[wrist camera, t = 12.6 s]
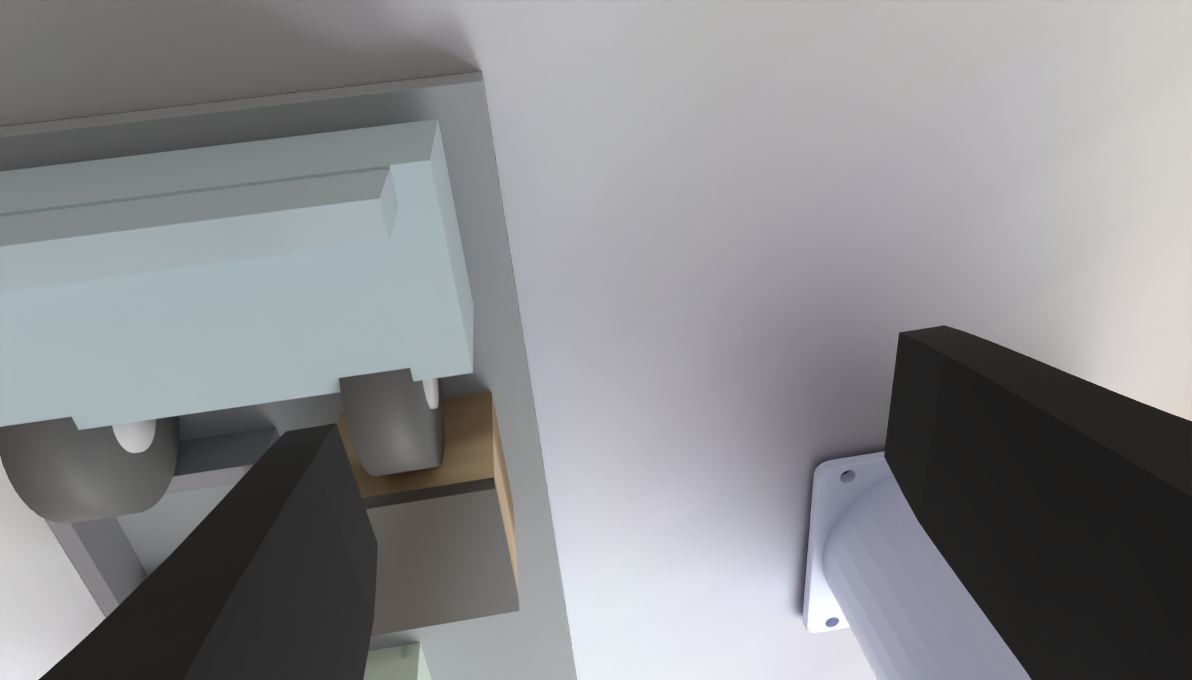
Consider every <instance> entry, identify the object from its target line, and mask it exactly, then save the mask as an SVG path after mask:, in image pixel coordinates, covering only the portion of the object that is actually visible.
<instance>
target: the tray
mask: <svg viewBox="0 0 1192 680" xmlns="http://www.w3.org/2000/svg"><path fill="white" fill-rule="evenodd" d="M363 680H432V679H431V676H430V673H429V670H428V666H427V663H426V660H425V657H424V654H423V650H422V647H421V644H420V643H415V644H409V645H403V646H397V647H391V648H385V649H379V650H374V651H368V656H367V662H366V668H365V673H364V679H363Z"/></svg>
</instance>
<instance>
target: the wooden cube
mask: <svg viewBox="0 0 1192 680" xmlns="http://www.w3.org/2000/svg"><path fill="white" fill-rule="evenodd" d="M443 404H444V419H445V448H444V456H443V461H442V464H441V465H440V466H439V467H434V468H427V469H421V470H414V471H408V472H401V473H395V474H388V475H382V476H371V475H370V474H369V473H368V472H367V471H366V470H365V469H364V467H363V466H362V464H361V462H360V460H359V458H358V456H357V453H356V451H355V448H354V445H353V442H352V440H351V436H350V433H349V429H348V425H347V421H346V417H345V414H341V415H340V417H339V421H338V424H337V426H338V429H339V432H340V435H341V438H342V441H343V444H344V447H345V450H346V453H347V456H348V458H349V461H350V464H351V467H352V470H353V473H354V476H355V479H356V482H357V485H358V488H359V491H360V493H361V496H362V499H363V502H364V505H365V508H366V511H367V514H368V517H369V520H370V523H371V526H372V528H373V531H374V534H375V537H376V540H377V543H378V551H377V576H376V595H375V610H374V622H373V628H372V634H371V636H376V635H381V634H387V633H393V632H399V631H405V630H411V629H417V628H422V627H428V626H434V625H440V624H446V623H452V622H458V621H463V620H469V619H475V618H481V617H487V616H493V615H499V614H504V613H510V612H516V611H520V609H519V592H518V575H517V558H516V541H515V524H514V507H513V500H512V495H511V490H510V484H509V479H508V474H507V469H506V463H505V458H504V453H503V448H502V442H501V437H500V432H499V427H498V422H497V416H496V411H495V406H494V401H493V395H492V392H489V393H482V394H476V395H469V396H462V397H455V398H449V399H443Z"/></svg>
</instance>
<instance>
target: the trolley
mask: <svg viewBox="0 0 1192 680" xmlns="http://www.w3.org/2000/svg"><path fill="white" fill-rule="evenodd" d="M473 320H474V305H473V300H472V295H471V289H470V284H469V279H468V274H467V268H466V263H465V258H464V253H463V247H462V242H461V237H460V232H459V226H458V221H457V216H456V211H455V205H454V200H453V195H452V190H451V184H450V179H449V174H448V169H447V163H446V158H445V153H444V148H443V142H442V137H441V132H440V127H439V121H438V119H435V120H427V121H418V122H410V123H402V124H393V125H385V126H377V127H368V128H360V129H352V130H343V131H335V132H327V133H318V134H310V135H301V136H293V137H285V138H276V139H268V140H260V141H251V142H243V143H235V144H226V145H218V146H210V147H201V148H193V149H185V150H176V151H168V152H160V153H151V154H143V155H135V156H126V157H118V158H109V159H101V160H93V161H84V162H76V163H68V164H59V165H51V166H43V167H34V168H26V169H18V170H9V171H1V172H0V456H1V459H2V463H3V466H4V468H5V471H6V473H7V476H8V478H9V480H10V482H11V484H12V485H13V487H14V489H15V491H16V492H17V493H18V495H19V496H20V498H21V499H22V500H23V501H24V502H25V504H26V505H27V506H28V507H29V508H30V509H32V510H33V511H34V512H35V513H36V514H38V515H39V516H41V517H43V518H45V519H46V520H49V521H52V522H55V523H62V524H67V523H76V522H83V521H89V520H96V519H102V518H109V517H115V516H122V515H128V514H135V513H140V512H144V511H146V510H148V509H150V508H152V507H153V506H154V505H155V504H157V503H158V502H159V500H160V499H161V498H162V497H163V495H164V494H165V492H166V491H167V489H168V487H169V485H170V482H171V480H172V477H173V474H174V471H175V467H176V463H177V458H178V451H179V433H180V430H179V415H186V414H193V413H200V412H207V411H214V410H220V409H227V408H234V407H241V406H248V405H255V404H262V403H269V402H276V401H282V400H289V399H296V398H303V397H310V396H317V395H324V394H331V393H338V392H341V396H342V402H343V407H344V412H345V417H346V421H347V425H348V429H349V433H350V436H351V440H352V442H353V445H354V448H355V451H356V453H357V456H358V458H359V460H360V462H361V464H362V466H363V467H364V469H365V470H366V471H367V472H368V473H369V474H370V475H371V476H382V475H388V474H395V473H401V472H408V471H414V470H421V469H427V468H434V467H439V466H440V465H441V464H442V461H443V456H444V448H445V419H444V404H443V394H442V385H441V377H448V376H455V375H461V374H468V373H473Z"/></svg>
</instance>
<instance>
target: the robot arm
mask: <svg viewBox="0 0 1192 680" xmlns="http://www.w3.org/2000/svg"><path fill="white" fill-rule="evenodd" d="M848 470H849V472H847V473H846V474H844V475H841V474H843V473H844V472H845V471H848ZM377 551H378V543H377V540H376V537H375V534H374V531H373V528H372V526H371V523H370V520H369V517H368V514H367V511H366V508H365V505H364V502H363V499H362V496H361V493H360V491H359V488H358V485H357V482H356V479H355V476H354V473H353V470H352V467H351V464H350V461H349V458H348V456H347V453H346V450H345V447H344V444H343V441H342V438H341V435H340V432H339V429H338V426H337V424H336V423H334V424H328V425H322V426H315V427H309V428H303V429H297V430H290V431H286V432H285V433H284V434H283V435H282V436H281V437H280V438H279V439H278V440H277V441H276V442H275V443H274V444H273V445H272V446H271V447H270V448H269V449H268V450H267V451H266V452H265V453H264V454H263V455H262V456H261V458H260V459H259V460H258V461H257V462H256V463H255V464H254V465H253V466H252V467H251V468H250V470H249V471H248V472H247V473H246V474H245V475H244V476H243V477H242V478H241V479H240V480H239V482H238V483H237V484H236V485H235V486H234V487H233V488H232V489H231V490H230V491H229V493H228V494H227V495H226V496H225V497H224V498H223V499H222V500H221V501H220V502H219V503H218V504H217V506H216V507H215V508H214V509H213V510H212V511H211V512H210V513H209V514H208V515H207V516H206V517H205V518H204V519H203V520H202V522H201V523H200V524H199V525H198V526H197V527H196V528H195V529H194V530H193V531H192V532H191V533H190V534H189V535H188V536H187V538H186V539H185V540H184V541H183V542H182V543H181V544H180V545H179V546H178V547H177V548H176V549H175V550H174V551H173V552H172V553H171V554H170V556H169V557H167V558H166V559H165V560H164V561H163V562H162V563H161V564H160V565H159V566H158V567H157V568H156V569H155V570H154V571H153V572H152V573H151V574H150V575H149V576H148V577H147V578H146V579H145V580H144V581H143V582H142V583H141V584H140V585H139V586H138V587H137V588H136V589H135V590H134V591H133V592H132V593H131V594H130V595H129V596H128V597H127V598H126V599H125V600H124V601H123V602H122V603H121V604H120V605H119V606H118V607H117V608H116V609H115V610H114V611H113V612H112V613H111V614H110V615H109V616H108V617H107V618H106V619H105V620H104V621H103V622H101V623H100V624H99V625H98V626H97V627H96V628H95V629H94V630H93V631H92V632H91V633H90V634H89V635H88V636H87V637H86V638H85V639H84V640H82V641H81V642H80V643H79V644H78V645H77V646H76V647H75V648H74V649H73V650H72V651H70V652H69V653H68V654H67V655H66V656H65V657H64V658H63V659H61V660H60V661H59V662H58V663H57V664H56V665H55V666H54V667H53V668H51V669H50V670H49V671H48V672H47V673H46V674H45V675H43V676H42V677H41V678H40V679H39V680H363V679H364V673H365V668H366V662H367V656H368V651H369V645H370V640H371V634H372V628H373V622H374V610H375V595H376V576H377ZM802 620H803V623H804V625H805V628H806V629H807V630H808V631H809V632H812V633H820V632H825V631H831V630H837V629H842V628H848V627H850V628H851V630H852V631H853V633H854V635H855V637H856V639H857V641H858V643H859V645H860V647H861V649H862V651H863V653H864V655H865V656H866V658H867V660H868V662H869V664H870V666H871V668H872V670H873V672H874V674H875V676H876V678H877V680H1192V421H1189V420H1186V419H1184V418H1181V417H1178V416H1175V415H1172V414H1170V413H1167V412H1164V411H1162V410H1159V409H1157V408H1154V407H1151V406H1149V405H1146V404H1144V403H1141V402H1138V401H1136V400H1133V399H1131V398H1128V397H1126V396H1123V395H1121V394H1118V393H1116V392H1113V391H1111V390H1108V389H1106V388H1103V387H1101V386H1098V385H1096V384H1093V383H1091V382H1088V381H1086V380H1083V379H1081V378H1079V377H1076V376H1074V375H1071V374H1069V373H1066V372H1064V371H1062V370H1059V369H1057V368H1054V367H1052V366H1049V365H1047V364H1045V363H1042V362H1040V361H1037V360H1035V359H1033V358H1030V357H1028V356H1025V355H1023V354H1020V353H1018V352H1016V351H1013V350H1011V349H1008V348H1006V347H1003V346H1001V345H998V344H996V343H993V342H991V341H988V340H985V339H983V338H980V337H977V336H975V335H972V334H969V333H966V332H964V331H961V330H957V329H954V328H951V327H948V326H938V327H932V328H926V329H920V330H913V331H907V332H901V333H899V339H898V347H897V355H896V363H895V371H894V380H893V388H892V396H891V404H890V412H889V420H888V428H887V436H886V444H885V451H883V452H877V453H871V454H865V455H858V456H852V457H846V458H840V459H833V460H828V461H825V462H823V463H821V464H820V465H819V466H818V467H817V468H816V469H815V472H814V479H813V491H812V504H811V517H810V529H809V542H808V555H807V567H806V580H805V593H804V605H803V618H802Z"/></svg>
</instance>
